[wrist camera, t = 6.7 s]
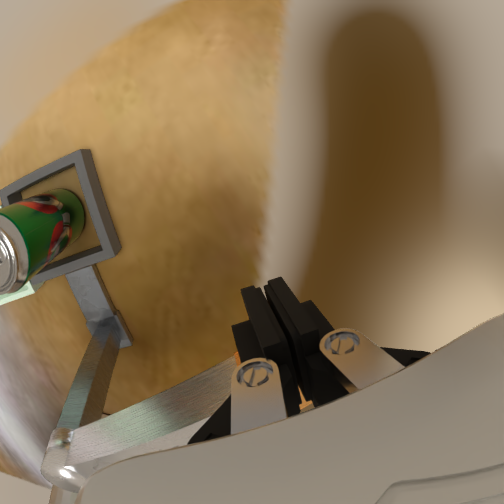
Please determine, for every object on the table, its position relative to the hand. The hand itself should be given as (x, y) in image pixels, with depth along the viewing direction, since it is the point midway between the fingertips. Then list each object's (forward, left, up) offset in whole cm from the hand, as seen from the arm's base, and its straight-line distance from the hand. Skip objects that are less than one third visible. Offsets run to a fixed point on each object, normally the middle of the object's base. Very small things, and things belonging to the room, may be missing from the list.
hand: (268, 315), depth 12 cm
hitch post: (-4, +14, -16) cm, 21 cm away
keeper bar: (-5, +7, -1) cm, 9 cm away
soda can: (+5, +14, -16) cm, 22 cm away
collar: (+5, +14, -16) cm, 22 cm away
